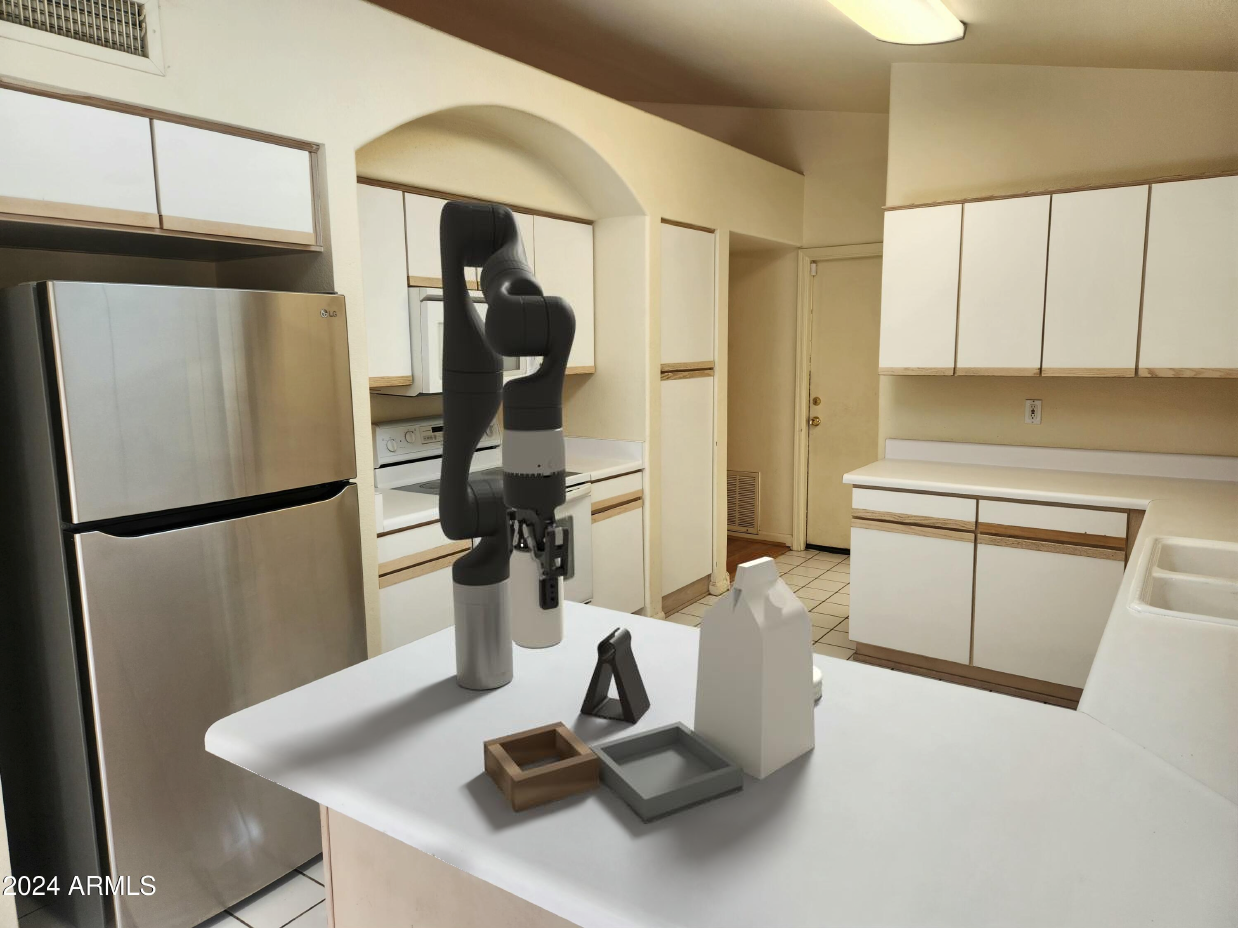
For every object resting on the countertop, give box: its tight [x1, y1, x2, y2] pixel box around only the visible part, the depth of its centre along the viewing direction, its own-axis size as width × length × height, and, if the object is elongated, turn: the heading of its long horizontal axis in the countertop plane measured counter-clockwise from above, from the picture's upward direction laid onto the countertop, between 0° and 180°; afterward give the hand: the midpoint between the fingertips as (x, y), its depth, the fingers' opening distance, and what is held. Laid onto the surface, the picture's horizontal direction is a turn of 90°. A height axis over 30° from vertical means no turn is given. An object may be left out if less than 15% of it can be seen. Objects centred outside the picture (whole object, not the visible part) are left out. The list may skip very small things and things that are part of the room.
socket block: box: [482, 720, 600, 814], centre depth 102 cm, size 11×11×4 cm
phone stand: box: [579, 627, 651, 725], centre depth 120 cm, size 9×6×12 cm, turn 67°
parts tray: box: [588, 721, 744, 824], centre depth 102 cm, size 14×14×3 cm
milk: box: [693, 556, 816, 780], centre depth 108 cm, size 12×12×26 cm
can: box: [510, 542, 565, 650], centre depth 99 cm, size 6×6×12 cm
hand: (537, 599), depth 99 cm, fingers closed on can, 6 cm apart
